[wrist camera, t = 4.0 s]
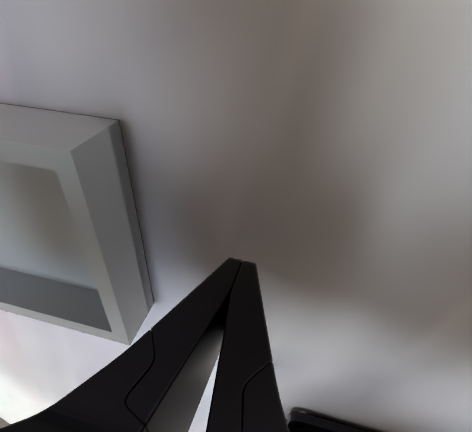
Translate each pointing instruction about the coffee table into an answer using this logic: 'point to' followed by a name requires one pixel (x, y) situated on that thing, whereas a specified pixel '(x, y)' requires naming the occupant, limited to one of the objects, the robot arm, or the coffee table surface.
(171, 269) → the coffee table surface
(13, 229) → the grey shallow tray
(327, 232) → the coffee table surface
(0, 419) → the grey picture frame
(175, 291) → the coffee table surface
